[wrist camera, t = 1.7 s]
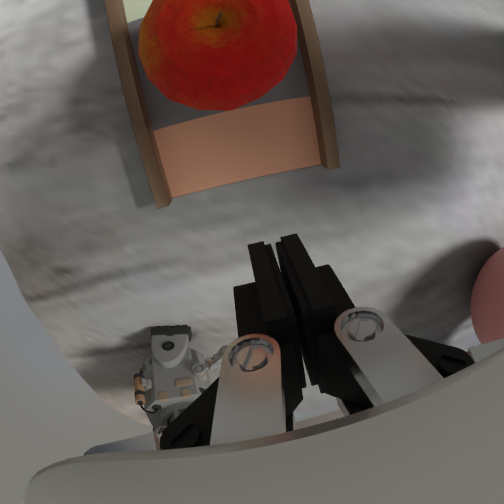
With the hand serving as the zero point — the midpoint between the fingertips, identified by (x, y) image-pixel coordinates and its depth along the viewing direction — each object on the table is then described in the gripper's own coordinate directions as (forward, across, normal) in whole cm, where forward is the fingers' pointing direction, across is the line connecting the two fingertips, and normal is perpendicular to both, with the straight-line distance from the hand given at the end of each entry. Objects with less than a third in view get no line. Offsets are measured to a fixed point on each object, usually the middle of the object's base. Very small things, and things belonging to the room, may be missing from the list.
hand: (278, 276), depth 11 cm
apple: (+17, 0, -10) cm, 20 cm away
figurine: (+17, +10, +19) cm, 27 cm away
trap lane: (+17, 0, -14) cm, 22 cm away
